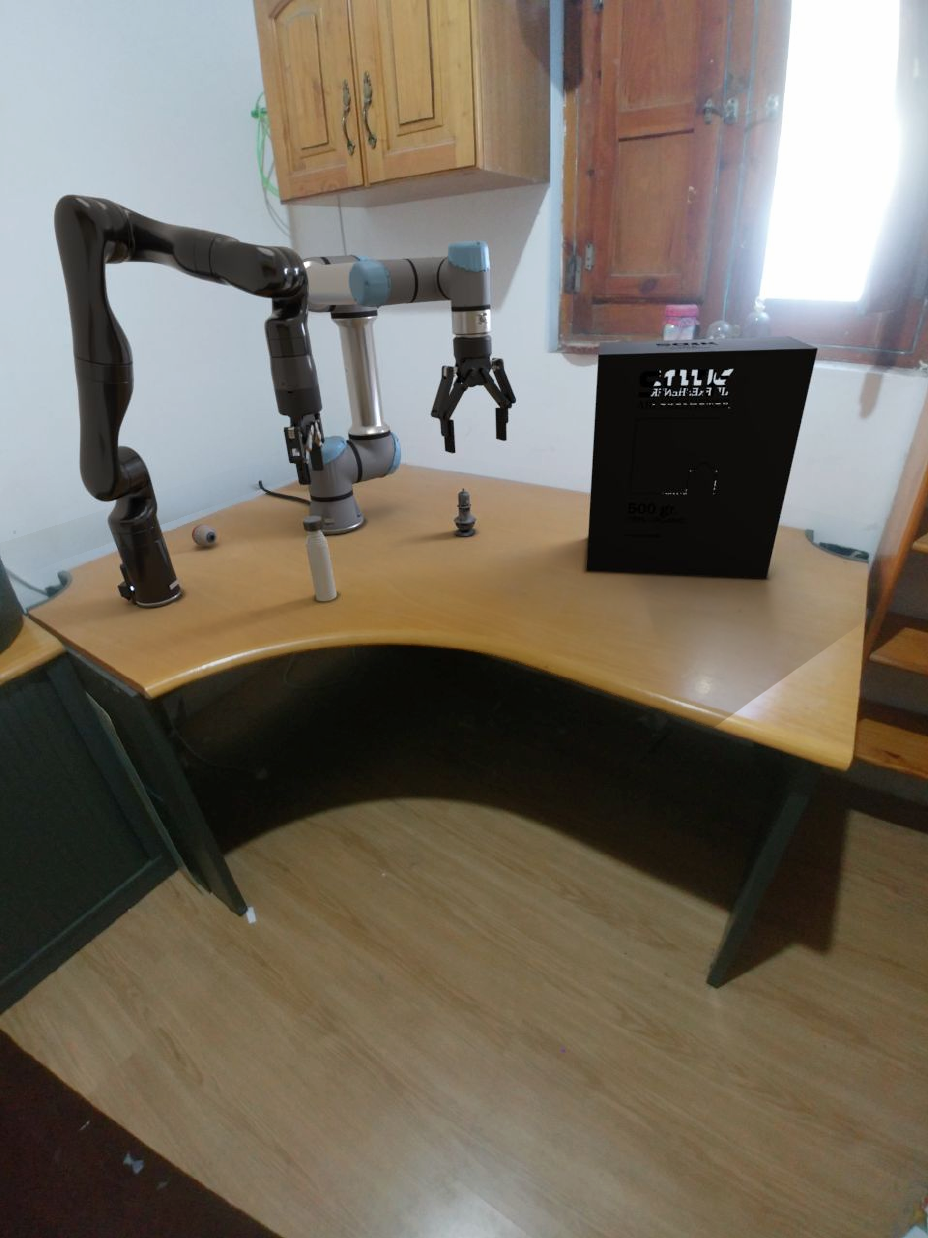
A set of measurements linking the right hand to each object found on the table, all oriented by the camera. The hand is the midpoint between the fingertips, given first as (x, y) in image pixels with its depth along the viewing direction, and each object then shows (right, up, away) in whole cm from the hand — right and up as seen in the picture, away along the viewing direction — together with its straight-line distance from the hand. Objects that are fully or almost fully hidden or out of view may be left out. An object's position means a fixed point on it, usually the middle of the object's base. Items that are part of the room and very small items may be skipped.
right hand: (476, 445), depth 127 cm
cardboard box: (+45, -22, +13) cm, 52 cm away
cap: (-34, -16, -4) cm, 38 cm away
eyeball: (-71, -17, +33) cm, 80 cm away
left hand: (-30, -11, -17) cm, 36 cm away
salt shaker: (-2, -14, +32) cm, 35 cm away
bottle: (-33, -32, +5) cm, 46 cm away
